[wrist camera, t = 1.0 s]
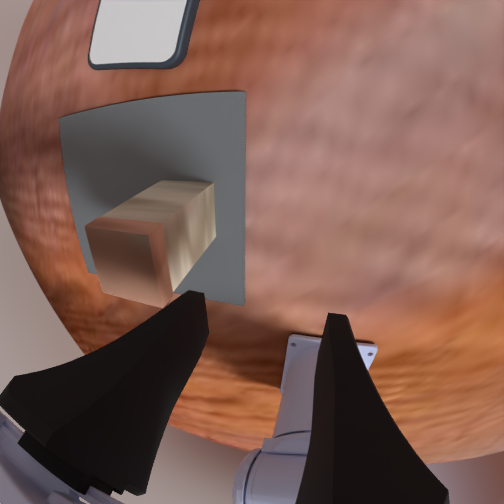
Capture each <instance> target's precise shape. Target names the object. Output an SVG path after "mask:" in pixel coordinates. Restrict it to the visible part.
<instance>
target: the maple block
mask: <svg viewBox="0 0 504 504" xmlns="http://www.w3.org/2000/svg"><path fill="white" fill-rule="evenodd" d="M84 227H85V231H86V235H87V239H88V243H89V247H90V251H91V255H92V258H93V262H94V265H95V268H96V272H97V275H98V278H99V281H100V285H101V288H102V291H103V292H104V293H108V294H111V295H115V296H118V297H122V298H125V299H129V300H133V301H136V302H140V303H144V304H148V305H152V306H156V307H160V308H164V306H165V305H166V304H167V302H168V301H169V300H170V298H171V297H172V296H173V292H174V291H175V289H176V288H177V287H178V285H179V284H180V283H181V281H182V280H183V279H184V277H185V276H186V275H187V273H188V272H189V271H190V270H191V268H192V267H193V266H194V264H195V263H196V262H197V260H198V259H199V258H200V257H201V255H202V254H203V253H204V251H205V250H206V249H207V248H208V246H209V245H210V244H211V242H212V241H213V240H214V239H215V237H216V226H215V201H214V183H212V182H193V181H168V180H162V181H160V182H158V183H156V184H154V185H153V186H151V187H149V188H147V189H146V190H144V191H142V192H140V193H139V194H137V195H135V196H134V197H132V198H130V199H129V200H127V201H125V202H124V203H122V204H120V205H119V206H117V207H115V208H114V209H112V210H111V211H109V212H107V213H106V214H104V215H103V216H101V217H97V218H96V219H94V220H93V221H91V222H90V223H88V224H87V225H85V226H84Z"/></svg>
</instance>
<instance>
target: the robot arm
mask: <svg viewBox="0 0 504 504" xmlns="http://www.w3.org/2000/svg"><path fill="white" fill-rule="evenodd" d="M208 334H209V329H208V320H207V312H206V303H205V294H204V293H202V292H197V291H192V290H188V291H187V292H185V293H184V294H182V295H181V296H180V297H178V298H177V299H176V300H174V301H173V302H171V303H170V304H169V305H167V306H166V307H165V308H163V309H162V310H161V311H159V312H158V313H156V314H155V315H153V316H152V317H151V318H149V319H148V320H146V321H145V322H144V323H142V324H140V325H139V326H137V327H136V328H134V329H133V330H131V331H130V332H128V333H126V334H125V335H123V336H122V337H120V338H118V339H117V340H115V341H113V342H111V343H109V344H107V345H106V346H104V347H102V348H100V349H98V350H96V351H94V352H91V353H89V354H87V355H84V356H82V357H80V358H77V359H75V360H73V361H70V362H67V363H65V364H62V365H59V366H56V367H52V368H49V369H45V370H42V371H38V372H33V373H28V374H23V375H18V376H14V378H13V379H12V380H11V381H10V382H9V384H8V385H7V386H6V388H5V389H4V390H3V392H2V393H1V394H0V406H1V407H2V408H3V409H4V410H5V411H6V412H7V413H8V414H9V415H10V416H11V417H12V418H13V419H14V420H15V421H16V422H17V423H18V424H19V425H20V426H21V427H22V428H24V429H25V430H26V431H25V432H24V433H23V432H22V431H21V430H20V429H19V428H18V427H17V426H16V425H14V423H13V422H12V421H11V420H9V419H8V418H7V417H6V416H5V415H4V414H3V413H2V412H1V411H0V503H1V504H86V503H84V502H81V501H80V500H79V496H80V497H81V498H83V499H84V500H86V501H87V502H89V503H90V504H124V503H122V502H120V501H118V500H116V499H114V498H112V497H111V496H110V495H111V493H112V491H114V492H117V493H118V494H120V495H122V494H123V492H124V490H126V491H128V492H130V493H132V494H134V495H136V496H139V495H143V494H145V493H146V489H147V485H148V481H149V478H150V474H151V470H152V467H153V463H154V460H155V457H156V454H157V450H158V448H159V445H160V442H161V439H162V436H163V433H164V430H165V428H166V425H167V423H168V420H169V418H170V415H171V412H172V410H173V408H174V406H175V404H176V402H177V400H178V398H179V396H180V394H181V392H182V390H183V389H184V387H185V385H186V383H187V381H188V379H189V377H190V375H191V374H192V372H193V370H194V368H195V366H196V364H197V362H198V360H199V358H200V356H201V354H202V351H203V348H204V346H205V343H206V340H207V337H208ZM293 343H295V344H293ZM370 352H372V353H370ZM376 352H377V345H375V344H368V343H358V342H356V340H355V338H354V335H353V332H352V329H351V326H350V323H349V319H348V317H347V316H346V315H342V314H334V313H328V316H327V320H326V324H325V328H324V332H323V335H322V338H317V337H310V336H303V335H296V334H293V335H290V336H289V339H288V346H287V352H286V358H285V365H284V371H283V377H282V382H281V388H280V393H281V394H282V398H281V403H280V407H279V412H278V416H277V420H276V424H275V428H274V432H273V436H272V438H265V439H264V442H263V446H262V449H260V448H258V449H254V450H252V451H251V452H250V453H249V454H248V455H247V456H246V457H245V458H244V459H243V460H242V461H241V463H240V465H239V467H238V469H237V472H236V474H235V478H234V482H233V488H232V499H233V504H449V492H448V489H447V488H445V486H444V485H443V484H442V483H441V482H440V481H439V480H438V479H437V478H436V477H435V475H434V474H433V473H432V472H431V471H430V470H429V469H428V467H427V466H426V465H425V464H424V462H423V461H422V460H421V459H420V457H419V456H418V455H417V454H416V452H415V451H414V450H413V448H412V447H411V445H410V444H409V442H408V441H407V440H406V438H405V437H404V435H403V434H402V432H401V431H400V430H399V428H398V426H397V425H396V423H395V422H394V420H393V418H392V417H391V415H390V413H389V412H388V410H387V408H386V406H385V405H384V403H383V401H382V399H381V397H380V395H379V393H378V391H377V389H376V387H375V385H374V383H373V381H372V379H371V377H370V374H369V372H368V369H369V367H370V365H371V363H372V361H373V359H374V357H375V355H376Z"/></svg>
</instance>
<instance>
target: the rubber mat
mask: <svg viewBox="0 0 504 504" xmlns="http://www.w3.org/2000/svg"><path fill="white" fill-rule="evenodd" d="M59 131H60V141H61V150H62V158H63V165H64V171H65V178H66V183H67V189H68V194H69V199H70V204H71V209H72V214H73V218H74V222H75V226H76V230H77V234H78V238H79V242H80V246H81V249H82V253H83V256H84V260H85V263H86V266H87V270H88V272H89V273H93V274H97V272H96V268H95V265H94V262H93V258H92V255H91V251H90V247H89V243H88V239H87V235H86V231H85V227H84V226H85V225H87V224H88V223H90V222H91V221H93V220H94V219H96V218H97V217H101V216H103V215H104V214H106V213H107V212H109V211H111V210H112V209H114V208H115V207H117V206H119V205H120V204H122V203H124V202H125V201H127V200H129V199H130V198H132V197H134V196H135V195H137V194H139V193H140V192H142V191H144V190H146V189H147V188H149V187H151V186H153V185H154V184H156V183H158V182H160V181H162V180H168V181H193V182H212V183H214V201H215V226H216V237H215V239H214V240H213V241H212V242H211V244H210V245H209V246H208V248H207V249H206V250H205V251H204V253H203V254H202V255H201V257H200V258H199V259H198V260H197V262H196V263H195V264H194V266H193V267H192V268H191V270H190V271H189V272H188V273H187V275H186V276H185V277H184V279H183V280H182V281H181V283H180V284H179V285H178V287H177V288H176V289H175V291H174V292H173V293H178V294H184V293H185V292H187V291H188V290H192V291H197V292H202V293H204V294H205V299H208V300H213V301H218V302H223V303H229V304H234V305H240V306H243V305H244V303H245V151H246V92H211V93H196V94H184V95H174V96H165V97H157V98H150V99H143V100H137V101H131V102H125V103H120V104H114V105H110V106H105V107H100V108H96V109H91V110H87V111H83V112H79V113H75V114H72V115H68V116H65V117H61V118H59Z"/></svg>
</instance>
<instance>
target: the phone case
mask: <svg viewBox="0 0 504 504" xmlns="http://www.w3.org/2000/svg"><path fill="white" fill-rule="evenodd" d="M199 2H200V0H100V2H99V6H98V10H97V14H96V18H95V22H94V27H93V32H92V37H91V42H90V48H89V54H88V63H89V65H90V67H91V68H92V69H95V70H110V69H173V68H175V67H177V66H178V65H180V64H181V63H182V62H183V60H184V59H185V57H186V54H187V51H188V46H189V42H190V37H191V33H192V29H193V25H194V21H195V17H196V13H197V9H198V5H199Z"/></svg>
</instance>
